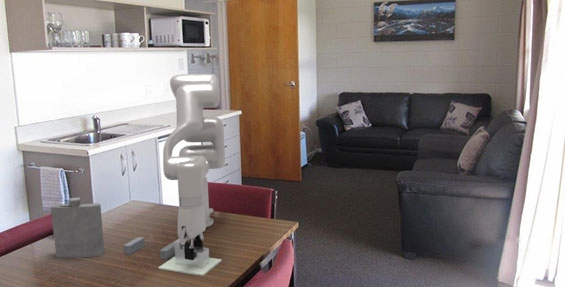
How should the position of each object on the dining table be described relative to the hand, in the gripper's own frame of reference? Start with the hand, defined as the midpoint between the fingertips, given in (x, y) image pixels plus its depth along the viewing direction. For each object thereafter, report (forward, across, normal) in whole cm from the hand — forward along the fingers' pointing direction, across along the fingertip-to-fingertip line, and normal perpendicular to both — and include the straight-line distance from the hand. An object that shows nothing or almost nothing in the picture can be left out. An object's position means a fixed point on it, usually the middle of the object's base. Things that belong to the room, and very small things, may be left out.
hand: (194, 255), depth 160 cm
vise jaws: (+3, -5, -20) cm, 20 cm away
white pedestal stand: (+3, 0, -1) cm, 3 cm away
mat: (+3, 0, -2) cm, 4 cm away
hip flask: (+4, +5, -42) cm, 42 cm away
